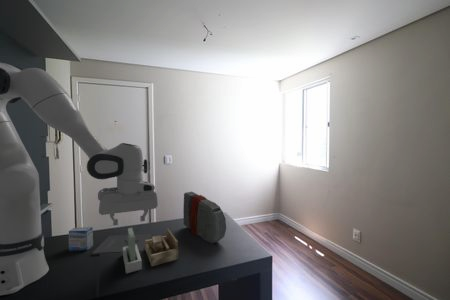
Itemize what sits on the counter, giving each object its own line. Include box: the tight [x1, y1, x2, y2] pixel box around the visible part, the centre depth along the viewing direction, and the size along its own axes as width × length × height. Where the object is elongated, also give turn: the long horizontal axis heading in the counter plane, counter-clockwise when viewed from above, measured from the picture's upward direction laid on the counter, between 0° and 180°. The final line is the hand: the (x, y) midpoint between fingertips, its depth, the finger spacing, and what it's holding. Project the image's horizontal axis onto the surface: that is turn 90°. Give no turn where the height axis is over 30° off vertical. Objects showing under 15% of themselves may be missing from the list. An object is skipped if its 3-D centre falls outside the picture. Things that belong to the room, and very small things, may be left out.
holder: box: [122, 244, 143, 274], centre depth 83 cm, size 5×14×4 cm, turn 29°
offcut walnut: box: [151, 242, 164, 254], centre depth 87 cm, size 3×7×2 cm, turn 33°
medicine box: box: [68, 226, 94, 252], centre depth 95 cm, size 8×4×9 cm, turn 93°
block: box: [127, 227, 136, 262], centre depth 83 cm, size 2×10×12 cm, turn 29°
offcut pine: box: [151, 235, 162, 248], centre depth 87 cm, size 3×6×2 cm, turn 24°
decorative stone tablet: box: [182, 191, 227, 244], centre depth 105 cm, size 19×6×30 cm
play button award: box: [91, 233, 152, 256], centre depth 98 cm, size 16×2×20 cm
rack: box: [144, 228, 179, 267], centre depth 88 cm, size 10×14×8 cm
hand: (129, 222), depth 82 cm, fingers open, 8 cm apart
